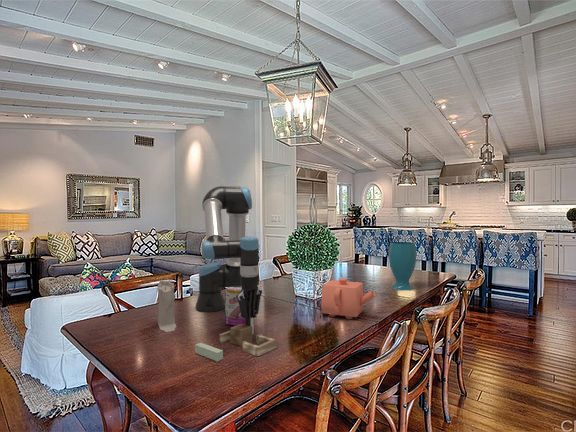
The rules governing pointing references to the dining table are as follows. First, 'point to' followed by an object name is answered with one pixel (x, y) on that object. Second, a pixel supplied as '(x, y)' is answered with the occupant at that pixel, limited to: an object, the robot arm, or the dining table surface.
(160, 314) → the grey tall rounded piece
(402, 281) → the vase
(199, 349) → the bar
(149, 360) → the dining table surface
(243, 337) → the block
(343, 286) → the teapot
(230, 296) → the candy bar box
